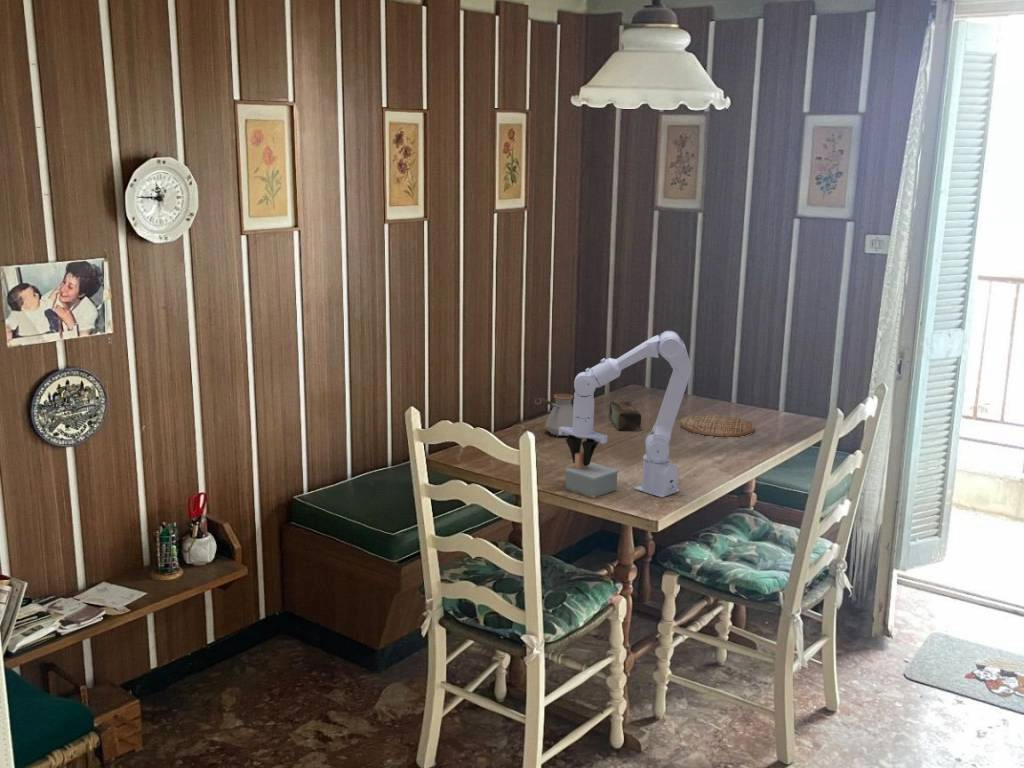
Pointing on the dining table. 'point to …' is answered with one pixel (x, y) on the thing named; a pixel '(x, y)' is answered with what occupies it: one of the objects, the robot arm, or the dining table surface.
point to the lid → (589, 469)
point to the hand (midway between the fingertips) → (581, 463)
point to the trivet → (717, 425)
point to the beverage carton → (624, 416)
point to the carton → (591, 485)
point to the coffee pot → (559, 413)
